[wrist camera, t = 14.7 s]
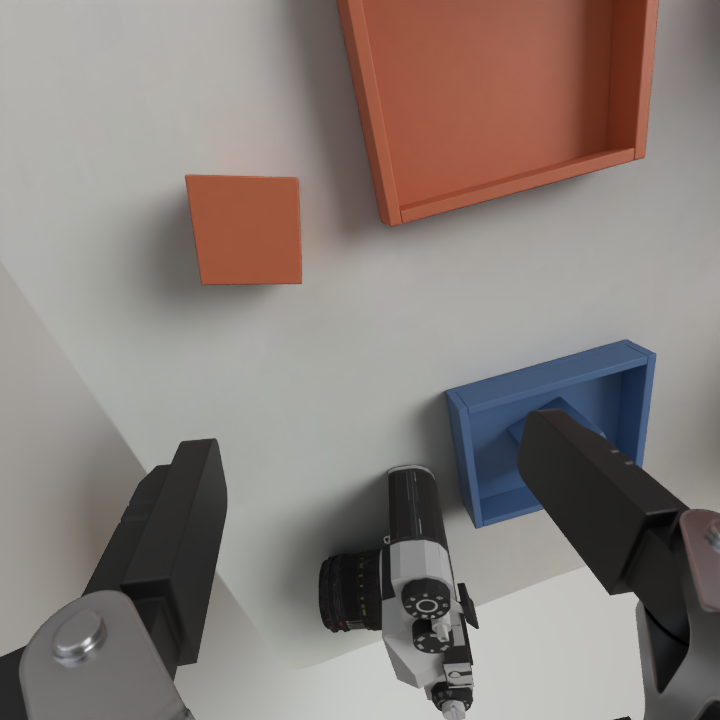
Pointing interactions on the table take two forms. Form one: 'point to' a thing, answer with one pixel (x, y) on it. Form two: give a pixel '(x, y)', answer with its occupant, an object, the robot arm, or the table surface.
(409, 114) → the terracotta tray
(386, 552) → the camera
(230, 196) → the terracotta block
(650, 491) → the robot arm
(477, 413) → the blue tray
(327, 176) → the table surface
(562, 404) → the blue block
